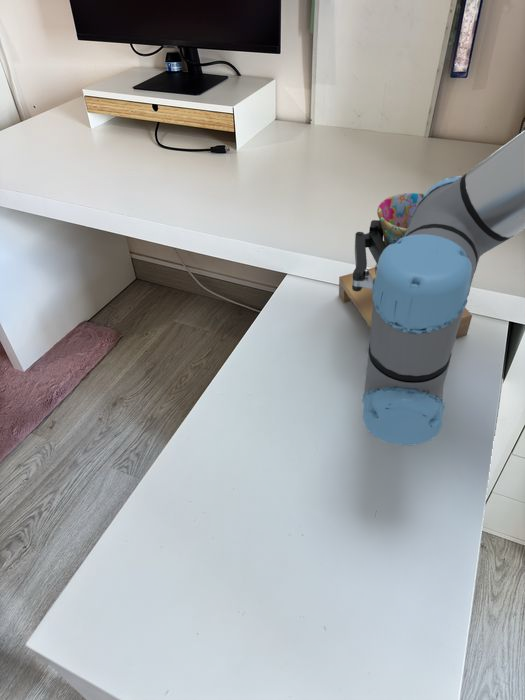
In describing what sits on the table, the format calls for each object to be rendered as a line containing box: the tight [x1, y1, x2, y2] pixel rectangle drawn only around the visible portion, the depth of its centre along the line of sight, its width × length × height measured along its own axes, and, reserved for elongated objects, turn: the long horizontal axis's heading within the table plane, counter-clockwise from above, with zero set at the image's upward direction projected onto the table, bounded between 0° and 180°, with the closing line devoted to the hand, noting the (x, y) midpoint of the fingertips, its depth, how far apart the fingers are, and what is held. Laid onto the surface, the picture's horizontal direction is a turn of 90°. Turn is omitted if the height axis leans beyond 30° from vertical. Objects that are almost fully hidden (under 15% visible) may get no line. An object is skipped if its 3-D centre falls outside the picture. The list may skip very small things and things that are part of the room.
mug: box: [374, 192, 426, 274], centre depth 70 cm, size 12×9×11 cm
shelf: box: [338, 266, 473, 339], centre depth 79 cm, size 16×14×4 cm
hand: (411, 213), depth 73 cm, fingers closed on mug, 7 cm apart
